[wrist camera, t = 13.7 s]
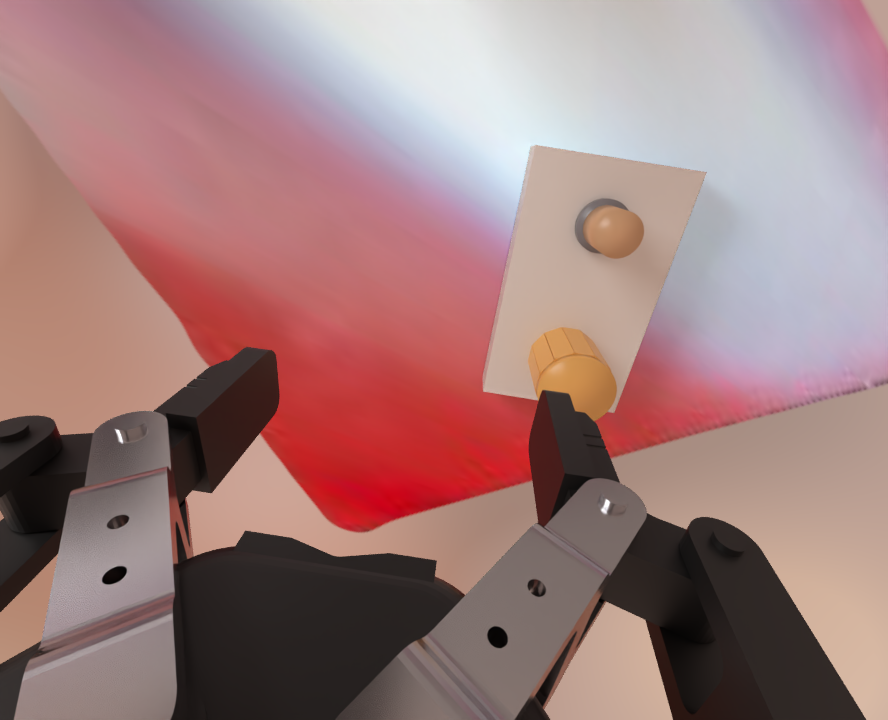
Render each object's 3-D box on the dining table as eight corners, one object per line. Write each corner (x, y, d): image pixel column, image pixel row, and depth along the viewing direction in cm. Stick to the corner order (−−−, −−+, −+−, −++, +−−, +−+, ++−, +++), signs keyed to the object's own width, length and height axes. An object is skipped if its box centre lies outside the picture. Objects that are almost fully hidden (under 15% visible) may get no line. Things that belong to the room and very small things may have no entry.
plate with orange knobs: (530, 146, 32) (544, 142, 25) (687, 171, 31) (744, 174, 25) (482, 375, 40) (483, 419, 34) (605, 395, 40) (630, 443, 33)
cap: (537, 323, 34) (548, 353, 29) (604, 333, 34) (627, 365, 29) (522, 381, 37) (529, 419, 31) (584, 391, 37) (603, 431, 31)
